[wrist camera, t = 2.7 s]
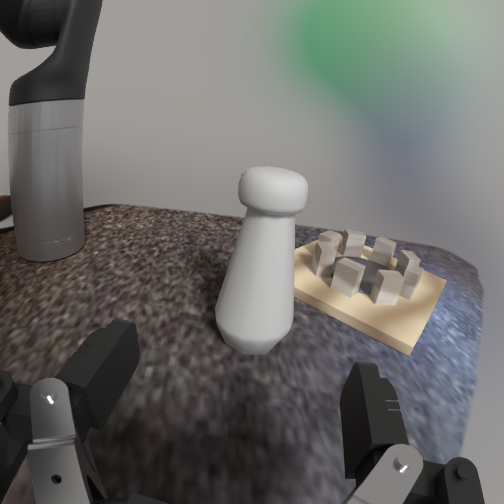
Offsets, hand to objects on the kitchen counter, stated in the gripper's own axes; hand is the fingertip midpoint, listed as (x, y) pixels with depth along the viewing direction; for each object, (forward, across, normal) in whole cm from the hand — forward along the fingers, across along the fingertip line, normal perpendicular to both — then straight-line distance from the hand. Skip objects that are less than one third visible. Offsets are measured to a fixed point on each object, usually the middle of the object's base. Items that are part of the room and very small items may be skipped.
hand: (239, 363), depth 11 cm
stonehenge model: (+24, -11, +8) cm, 28 cm away
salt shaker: (+11, 0, +8) cm, 14 cm away
